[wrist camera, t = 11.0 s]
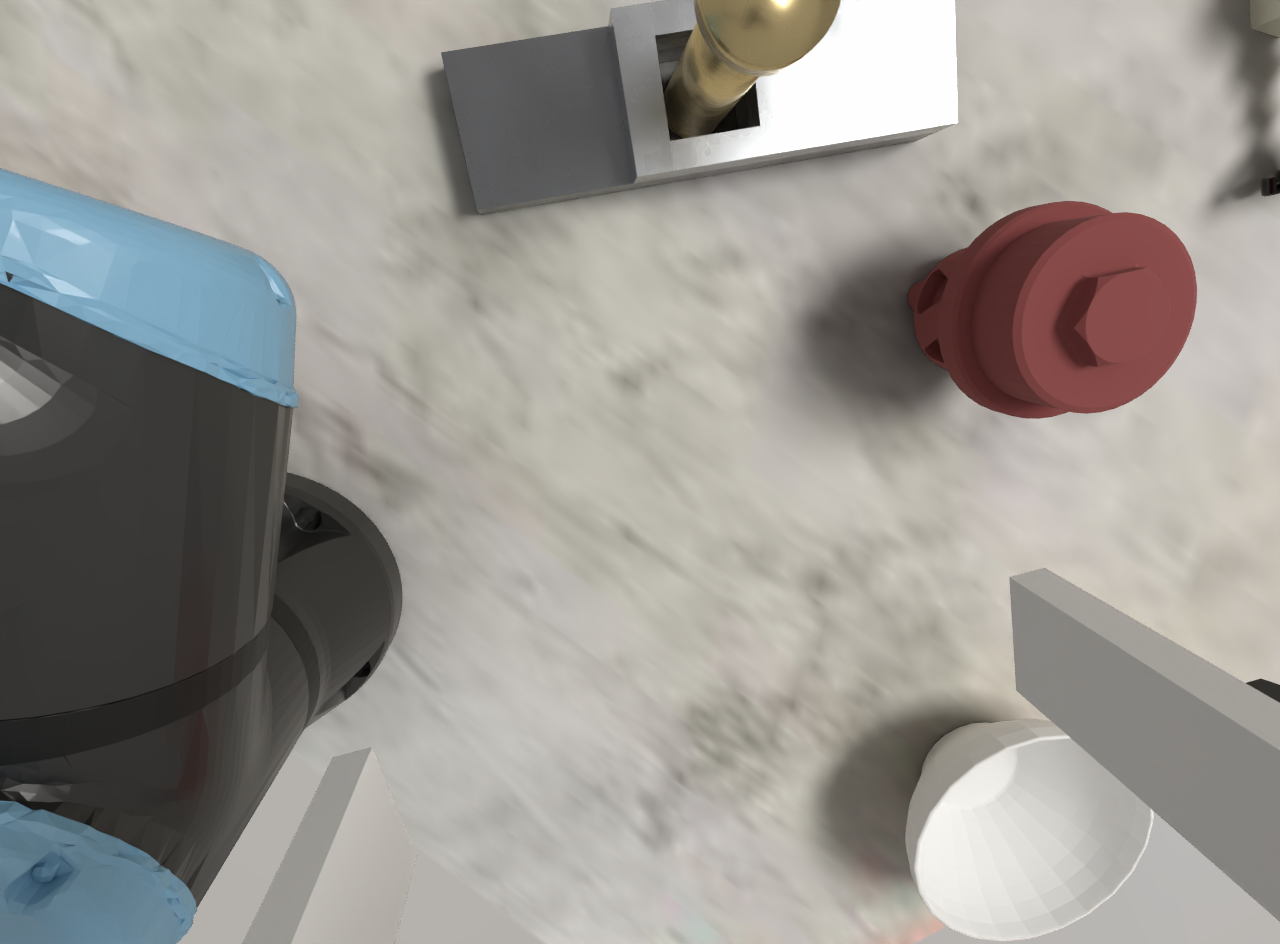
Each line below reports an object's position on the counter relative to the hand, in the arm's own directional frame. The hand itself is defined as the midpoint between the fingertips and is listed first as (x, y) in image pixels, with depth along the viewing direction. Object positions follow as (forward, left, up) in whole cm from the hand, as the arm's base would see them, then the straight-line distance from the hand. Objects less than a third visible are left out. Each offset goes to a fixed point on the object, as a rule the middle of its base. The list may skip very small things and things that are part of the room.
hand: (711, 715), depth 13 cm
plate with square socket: (+7, +17, -26) cm, 32 cm away
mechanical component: (+21, +4, -27) cm, 34 cm away
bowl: (+21, -29, -27) cm, 45 cm away
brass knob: (+7, +17, -26) cm, 32 cm away
